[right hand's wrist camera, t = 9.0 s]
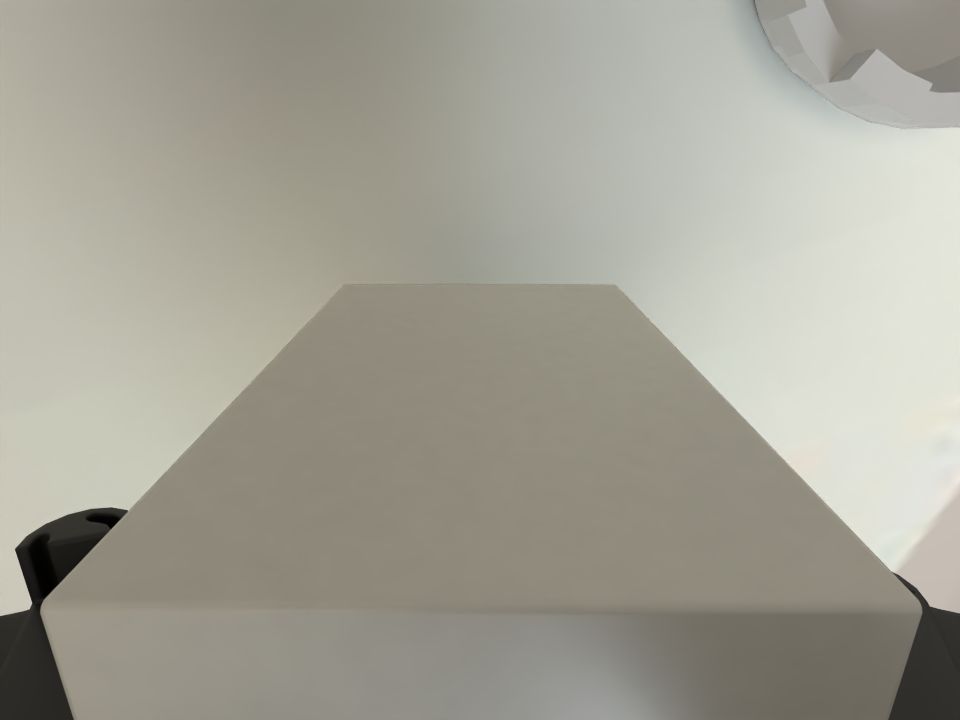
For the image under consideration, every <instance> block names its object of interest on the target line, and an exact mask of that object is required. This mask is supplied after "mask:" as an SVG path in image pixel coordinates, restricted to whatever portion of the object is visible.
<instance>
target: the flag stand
mask: <svg viewBox="0 0 960 720" xmlns="http://www.w3.org/2000/svg"><path fill="white" fill-rule="evenodd" d="M755 4H756V8H757V12H758V16H759V20H760V23H761V25H762V27H763V29H764V31H765V33H766V35H767V38H768V40H769V42H770V44H771V46H772V48H773V49H774V50H775V52H776V53H777V54H778V55H779V57H780V58H781V59H782V60H783V62H784V63H785V64H786V66H787V67H788V68H789V69H790V70H791V71H792V72H793V73H795V74H796V75H797V76H799V77H800V78H801V79H802V80H804V81H805V82H806V83H807V84H809V85H810V86H811V87H812V88H813V89H815V90H816V91H817V92H818V93H820V94H821V95H822V96H823V97H825V98H826V99H827V100H829V101H830V102H831V103H832V104H834V105H835V106H836V107H837V108H839V109H842V110H844V111H846V112H848V113H851V114H853V115H855V116H857V117H859V118H862V119H864V120H866V121H868V122H872V123H877V124H882V125H887V126H893V127H898V128H903V129H914V128H949V127H960V0H755Z"/></svg>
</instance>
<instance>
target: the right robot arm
mask: <svg viewBox="0 0 960 720" xmlns="http://www.w3.org/2000/svg"><path fill="white" fill-rule="evenodd" d="M127 512H128V511H127V510H123V509H117V508H98V509H89V510H85V511H81V512H77V513H73V514H69V515H66V516H64V517H61V518H59V519H57V520H54V521H52V522H49V523H47V524H45V525H43V526H42V527H40V528H39V529H37V530H36V531H34V532H33V533H31V534H29V535H28V536H27V537H26V538H25V539H24V540H23V541H22V542H21V543H20V544H19V545H18V546H17V547H16V549H15V551H16V554H17V557H18V560H19V563H20V566H21V569H22V572H23V576H24V579H25V582H26V585H27V588H28V591H29V594H30V597H31V600H32V605H31V608H30V610H26V611H23V612H18V613H13V614H9V615H4V616H0V720H74V719H73V716H72V712H71V709H70V706H69V703H68V700H67V697H66V693H65V690H64V687H63V684H62V681H61V677H60V674H59V671H58V668H57V665H56V662H55V658H54V655H53V652H52V649H51V646H50V643H49V639H48V636H47V633H46V630H45V627H44V623H43V620H42V617H41V614H40V610H41V605H42V603H43V601H44V599H45V598H46V597H47V596H48V595H49V594H50V593H51V592H52V591H53V590H54V589H55V588H56V587H57V586H58V585H59V584H60V583H61V582H62V581H63V579H64V578H65V577H66V576H67V575H68V574H69V573H70V572H71V571H72V570H73V569H74V568H75V567H76V566H77V565H78V564H79V563H80V562H81V561H82V560H83V558H84V557H85V556H86V555H87V554H88V553H89V552H90V551H91V550H92V549H93V548H94V547H95V546H96V545H97V544H98V543H99V542H100V541H101V540H102V539H103V537H104V536H105V535H106V534H107V533H108V532H109V531H110V530H111V529H112V528H113V527H114V526H115V525H116V524H117V523H118V522H119V521H120V520H121V519H122V518H123V516H124V515H125V514H126V513H127ZM892 573H893V572H892ZM893 574H894V575H895V576H896V577H897V578H898V579H899V580H900V581H901V582H902V583H903V584H904V585H905V586H906V587H907V588H908V589H909V591H910V592H911V593H912V594H913V595H914V596H915V597H916V598H917V599H918V600H919V602H920V604H921V606H922V616H921V619H920V622H919V625H918V628H917V631H916V635H915V638H914V641H913V644H912V647H911V650H910V653H909V656H908V660H907V663H906V666H905V669H904V672H903V675H902V678H901V682H900V685H899V688H898V691H897V694H896V697H895V700H894V703H893V707H892V710H891V713H890V716H889V719H888V720H960V613H955V612H950V611H946V610H941V609H937V608H933V607H930V606H929V604H928V602H927V601H926V600H925V599H924V597H923V596H922V595H921V593H920V592H919V591H918V590H917V588H915V587H914V586H913V585H911V584H910V583H909V582H907V581H906V580H905V579H903V578H902V577H901V576H899V575H897V574H895V573H893Z"/></svg>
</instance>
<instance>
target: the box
mask: <svg viewBox="0 0 960 720" xmlns="http://www.w3.org/2000/svg"><path fill="white" fill-rule="evenodd" d="M40 614H41V617H42V620H43V623H44V627H45V630H46V633H47V636H48V639H49V643H50V646H51V649H52V652H53V655H54V658H55V662H56V665H57V668H58V671H59V674H60V677H61V681H62V684H63V687H64V690H65V693H66V697H67V700H68V703H69V706H70V709H71V712H72V716H73V719H74V720H888V719H889V716H890V713H891V710H892V707H893V703H894V700H895V697H896V694H897V691H898V688H899V685H900V682H901V678H902V675H903V672H904V669H905V666H906V663H907V660H908V656H909V653H910V650H911V647H912V644H913V641H914V638H915V635H916V631H917V628H918V625H919V622H920V619H921V616H922V606H921V604H920V602H919V600H918V599H917V598H916V597H915V596H914V595H913V594H912V593H911V592H910V591H909V589H908V588H907V587H906V586H905V585H904V584H903V583H902V582H901V581H900V580H899V579H898V578H897V577H896V576H895V575H894V574H893V573H892V572H891V571H890V570H889V569H888V568H887V567H886V566H885V565H884V563H883V562H882V561H881V560H880V559H879V558H878V557H877V556H876V555H875V554H874V553H873V552H872V551H871V550H870V549H869V548H868V547H867V546H866V545H865V544H864V543H863V542H862V541H861V540H860V538H859V537H858V536H857V535H856V534H855V533H854V532H853V531H852V530H851V529H850V528H849V527H848V526H847V525H846V524H845V523H844V522H843V521H842V520H841V519H840V518H839V517H838V516H837V515H836V514H835V512H834V511H833V510H832V509H831V508H830V507H829V506H828V505H827V504H826V503H825V502H824V501H823V500H822V499H821V498H820V497H819V496H818V495H817V494H816V493H815V492H814V491H813V490H812V489H811V488H810V486H809V485H808V484H807V483H806V482H805V481H804V480H803V479H802V478H801V477H800V476H799V475H798V474H797V473H796V472H795V471H794V470H793V469H792V468H791V467H790V466H789V465H788V464H787V463H786V462H785V460H784V459H783V458H782V457H781V456H780V455H779V454H778V453H777V452H776V451H775V450H774V449H773V448H772V447H771V446H770V445H769V444H768V443H767V442H766V441H765V440H764V439H763V438H762V437H761V435H760V434H759V433H758V432H757V431H756V430H755V429H754V428H753V427H752V426H751V425H750V424H749V423H748V422H747V421H746V420H745V419H744V418H743V417H742V416H741V415H740V414H739V413H738V412H737V411H736V409H735V408H734V407H733V406H732V405H731V404H730V403H729V402H728V401H727V400H726V399H725V398H724V397H723V396H722V395H721V394H720V393H719V392H718V391H717V390H716V389H715V388H714V387H713V386H712V385H711V383H710V382H709V381H708V380H707V379H706V378H705V377H704V376H703V375H702V374H701V373H700V372H699V371H698V370H697V369H696V368H695V367H694V366H693V365H692V364H691V363H690V362H689V361H688V360H687V359H686V357H685V356H684V355H683V354H682V353H681V352H680V351H679V350H678V349H677V348H676V347H675V346H674V345H673V344H672V343H671V342H670V341H669V340H668V339H667V338H666V337H665V336H664V335H663V334H662V332H661V331H660V330H659V329H658V328H657V327H656V326H655V325H654V324H653V323H652V322H651V321H650V320H649V319H648V318H647V317H646V316H645V315H644V314H643V313H642V312H641V311H640V310H639V309H638V308H637V306H636V305H635V304H634V303H633V302H632V301H631V300H630V299H629V298H628V297H627V296H626V295H625V294H624V293H623V292H622V291H621V290H620V289H619V288H618V287H617V286H616V285H546V284H346V285H343V287H342V288H341V289H340V290H339V291H338V292H337V293H336V294H335V295H334V296H333V297H332V298H331V299H330V300H329V301H328V302H327V303H326V304H325V305H324V306H323V308H322V309H321V310H320V311H319V312H318V313H317V314H316V315H315V316H314V317H313V318H312V319H311V320H310V321H309V322H308V323H307V324H306V325H305V326H304V327H303V329H302V330H301V331H300V332H299V333H298V334H297V335H296V336H295V337H294V338H293V339H292V340H291V341H290V342H289V343H288V344H287V345H286V346H285V347H284V348H283V350H282V351H281V352H280V353H279V354H278V355H277V356H276V357H275V358H274V359H273V360H272V361H271V362H270V363H269V364H268V365H267V366H266V367H265V368H264V369H263V371H262V372H261V373H260V374H259V375H258V376H257V377H256V378H255V379H254V380H253V381H252V382H251V383H250V384H249V385H248V386H247V387H246V388H245V389H244V390H243V392H242V393H241V394H240V395H239V396H238V397H237V398H236V399H235V400H234V401H233V402H232V403H231V404H230V405H229V406H228V407H227V408H226V409H225V410H224V411H223V413H222V414H221V415H220V416H219V417H218V418H217V419H216V420H215V421H214V422H213V423H212V424H211V425H210V426H209V427H208V428H207V429H206V430H205V431H204V432H203V434H202V435H201V436H200V437H199V438H198V439H197V440H196V441H195V442H194V443H193V444H192V445H191V446H190V447H189V448H188V449H187V450H186V451H185V452H184V453H183V455H182V456H181V457H180V458H179V459H178V460H177V461H176V462H175V463H174V464H173V465H172V466H171V467H170V468H169V469H168V470H167V471H166V472H165V473H164V474H163V476H162V477H161V478H160V479H159V480H158V481H157V482H156V483H155V484H154V485H153V486H152V487H151V488H150V489H149V490H148V491H147V492H146V493H145V494H144V495H143V497H142V498H141V499H140V500H139V501H138V502H137V503H136V504H135V505H134V506H133V507H132V508H131V509H130V510H129V511H128V512H127V513H126V514H125V515H124V516H123V518H122V519H121V520H120V521H119V522H118V523H117V524H116V525H115V526H114V527H113V528H112V529H111V530H110V531H109V532H108V533H107V534H106V535H105V536H104V537H103V539H102V540H101V541H100V542H99V543H98V544H97V545H96V546H95V547H94V548H93V549H92V550H91V551H90V552H89V553H88V554H87V555H86V556H85V557H84V558H83V560H82V561H81V562H80V563H79V564H78V565H77V566H76V567H75V568H74V569H73V570H72V571H71V572H70V573H69V574H68V575H67V576H66V577H65V578H64V579H63V581H62V582H61V583H60V584H59V585H58V586H57V587H56V588H55V589H54V590H53V591H52V592H51V593H50V594H49V595H48V596H47V597H46V598H45V599H44V601H43V603H42V605H41V610H40Z"/></svg>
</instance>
